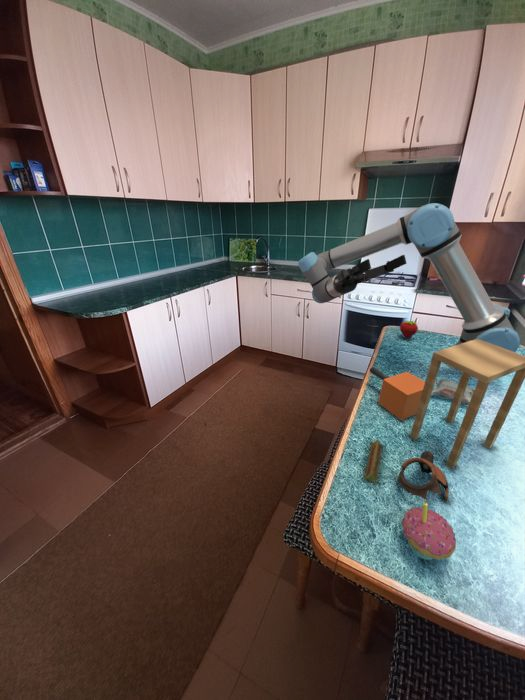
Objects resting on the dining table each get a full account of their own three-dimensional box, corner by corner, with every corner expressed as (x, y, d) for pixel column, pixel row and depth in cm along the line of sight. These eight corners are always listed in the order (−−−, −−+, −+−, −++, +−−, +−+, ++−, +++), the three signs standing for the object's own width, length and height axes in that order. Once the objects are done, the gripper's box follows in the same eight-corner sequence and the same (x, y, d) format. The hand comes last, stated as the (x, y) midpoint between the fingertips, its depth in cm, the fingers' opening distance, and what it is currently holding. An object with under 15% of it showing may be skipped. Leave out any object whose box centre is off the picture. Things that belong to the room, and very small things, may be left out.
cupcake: (398, 560, 52) (412, 518, 46) (396, 517, 59) (409, 476, 53) (452, 579, 49) (475, 538, 44) (444, 531, 56) (463, 490, 51)
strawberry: (399, 334, 138) (404, 314, 133) (416, 338, 133) (421, 318, 129) (395, 338, 134) (399, 318, 129) (412, 342, 129) (418, 321, 125)
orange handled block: (378, 379, 103) (383, 357, 99) (425, 410, 88) (432, 386, 84) (356, 386, 100) (360, 364, 96) (401, 420, 84) (407, 395, 80)
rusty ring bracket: (453, 516, 59) (442, 494, 56) (404, 509, 65) (391, 489, 62) (451, 464, 67) (441, 442, 64) (407, 461, 73) (396, 441, 70)
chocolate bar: (381, 447, 76) (383, 440, 74) (375, 483, 66) (377, 476, 65) (371, 444, 77) (372, 437, 76) (364, 479, 67) (365, 472, 66)
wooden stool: (448, 419, 85) (477, 338, 73) (492, 446, 75) (533, 359, 63) (409, 436, 79) (433, 352, 67) (451, 469, 69) (488, 377, 57)
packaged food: (471, 412, 87) (476, 398, 85) (428, 397, 94) (432, 384, 92) (475, 398, 93) (480, 386, 91) (434, 385, 100) (438, 373, 98)
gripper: (371, 289, 107) (421, 269, 87) (315, 299, 98) (356, 279, 78) (366, 269, 107) (415, 245, 87) (310, 277, 98) (349, 252, 78)
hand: (387, 261), depth 83 cm, fingers open, 13 cm apart
